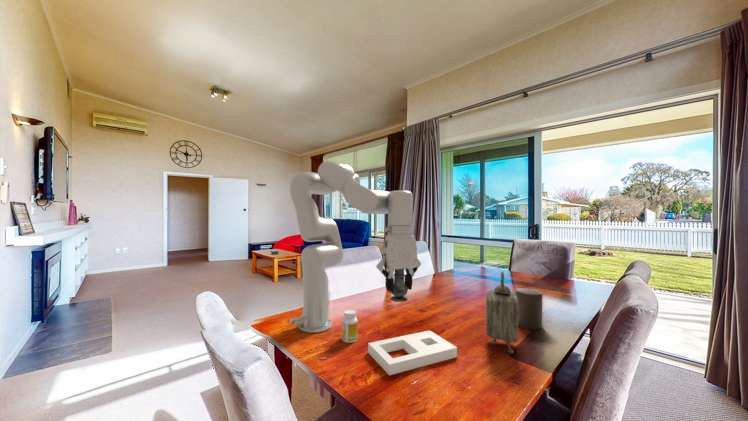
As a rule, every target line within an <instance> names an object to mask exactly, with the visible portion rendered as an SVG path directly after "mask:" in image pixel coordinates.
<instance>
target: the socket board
mask: <svg viewBox="0 0 748 421" xmlns="http://www.w3.org/2000/svg"><path fill="white" fill-rule="evenodd" d="M367 346H368V347H367V352H368V354H369V355H370V357H371V358H373V360H374V361H375V362H376V363H377V364H378V365H379V366H380V367H381V368H382V369H383V370H384V372H386V374H387V375H388V376H393V375H397V374H400V373H403V372H407V371H411V370H414V369H419V368H422V367H426V366H428V365H433V364H437V363H439V362H444V361H449V360H451V359H455V358H458V347H457V346H455V344H453V343H451V342H450V341H447V340H446V339H444V338H443V337H441V336H440V335H438V334H436V333H435V332H433V331H431V330H425V331H420V332H414V333H411V334H406V335H401V336H396V337H392V338H387V339H386V338H385V339H381V340H376V341H371V342H368V343H367ZM400 350H404V351H405V352H406V353H408V354H406V355H401V356H397V357H392V355H390V354H389V353H391V352H396V351H400Z"/></svg>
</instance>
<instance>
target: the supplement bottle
mask: <svg viewBox="0 0 748 421" xmlns="http://www.w3.org/2000/svg"><path fill="white" fill-rule="evenodd" d="M343 313H344V315H343V316H344V317H343V318H342V320H341V324H342V325H341V340H342V342H344V343H348V344H349V343H350V344H351V343H355V342H357V341H358V336H359V335H358V334H359V333H358V331H359V330H358V327H359V325H358V323H359V320H358V318H357V317H356V315H357V312H356V310H352V309H348V310H345V311H344V312H343Z"/></svg>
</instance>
